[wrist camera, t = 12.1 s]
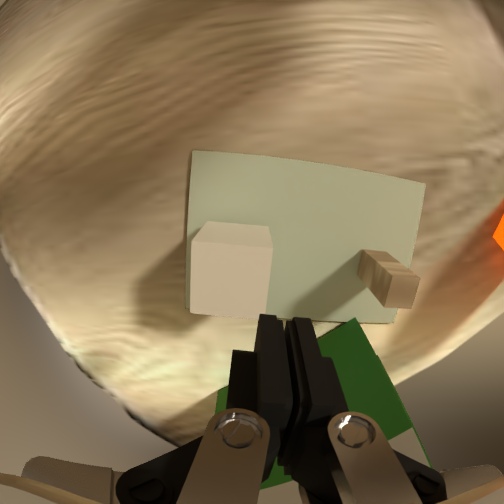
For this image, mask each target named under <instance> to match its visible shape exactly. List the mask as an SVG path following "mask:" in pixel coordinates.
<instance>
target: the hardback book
mask: <svg viewBox="0 0 504 504" xmlns="http://www.w3.org/2000/svg"><path fill="white" fill-rule="evenodd" d="M317 341H318V345H319V348H320V352H321V355H322V357H331V358H332V360H333V362H334V365H335V368H336V371H337V375H338V378H339V381H340V384H341V387H342V390H343V393H344V396H345V399H346V403H347V406H348V409H349V412H358V413H362V414H365V415H367V416H369V417H371V418H372V419H373V420H375V421H376V423H377V424H378V425H379V427H380V428H381V430H382V432H383V434H384V435H385V437H386V439H387V441H388V442H389V444H390V446H391V448H392V449H394V450H396V451H398V452H400V453H402V454H404V455H406V456H408V457H410V458H412V459H414V460H416V461H418V462H420V463H422V464H424V465H426V466H428V467H430V468H432V469H433V467H432V465H431V463H430V460H429V458H428V456H427V454H426V452H425V449H424V447H423V445H422V443H421V441H420V438H419V436H418V434H417V432H416V430H415V428H414V426H413V424H412V422H411V420H410V417H409V415H408V413H407V411H406V410H405V407H404V405H403V403H402V401H401V399H400V397H399V395H398V393H397V391H396V389H395V387H394V385H393V384H392V382H391V380H390V378H389V376H388V374H387V372H386V370H385V368H384V366H383V364H382V363H381V361H380V359H379V357H378V355H376V354H375V352H374V350H373V348H372V346H371V344H370V342H369V341H368V339H367V337H366V335H365V333H364V331H363V330H362V328H361V326H360V324H359V323H358V321H357V319H356V317H354V318H353V319H351V320H349V321H348V322H346V323H345V324H343V325H341V326H340V327H338V328H336V329H335V330H333V331H331V332H330V333H328V334H326V335H325V336H323V337H321V338H319V339H318V340H317ZM227 394H228V386H227V387H225V388H223V389H220V390H218V396H217V403H216V410H215V415H216V414H217V413H218V412H221V411H223V410H226V403H227ZM298 485H299V484H298V483H297V482H295V481H294V480H293V479H291V475H284V467H283V466H278V465H277V457H276V459H275V462H274V465H273V468H272V470H271V473H270V476H269V478H268V479H267V480H265V481H264V482H263V483H261V487H260V492H259V497H258V501H257V504H302V501H301V497H300V494H299V488H298Z"/></svg>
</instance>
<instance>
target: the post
mask: <svg viewBox="0 0 504 504" xmlns="http://www.w3.org/2000/svg"><path fill="white" fill-rule="evenodd" d="M357 276H358V277H359V278H360V279H361V280H362V281H363V283H364V284H365V285H366V286H367V287H368V289H369V290H370V291H371V292H372V294H373V295H374V296H375V297H376V298H377V300H378V301H379V302H380V303H381V305H382V306H383V307H384V308H407V309H411V308H412V305H413V302H414V299H415V295H416V292H417V288H418V285H419V281H420V277H418V276H417V275H416V274H414V273H413V272H412V271H411V270H409V269H408V268H407V267H406V266H404V265H403V264H402V263H400V262H399V261H398V260H396V259H395V258H394V257H392V256H391V255H390V254H388V253H387V252H385V251H376V250H368V249H362V253H361V258H360V262H359V267H358V272H357Z"/></svg>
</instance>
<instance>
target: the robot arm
mask: <svg viewBox="0 0 504 504" xmlns="http://www.w3.org/2000/svg"><path fill="white" fill-rule="evenodd" d="M276 457H277V465H278V466H283V467H284V475H291V479H293V480H294V481H295V482H297V483H298V484H299V485H298V488H299V494H300V497H301V501H302V504H504V475H502V474H501V472H500V471H499V470H498V469H497V468H496V467H494V466H492V465H483V466H476V467H469V468H459V469H449V470H442V471H441V473H439V472H437V471H436V470H434V469H432V468H430V467H428V466H426V465H424V464H422V463H420V462H418V461H416V460H414V459H412V458H410V457H408V456H406V455H404V454H402V453H400V452H398V451H396V450H394V449H392V448H391V446H390V444H389V442H388V441H387V439H386V437H385V435H384V434H383V432H382V430H381V428H380V427H379V425H378V424H377V423H376V421H375V420H373V419H372V418H371V417H369V416H367V415H365V414H362V413H358V412H349V409H348V406H347V403H346V399H345V396H344V393H343V390H342V387H341V384H340V381H339V378H338V375H337V371H336V368H335V365H334V362H333V360H332V358H331V357H322V355H321V352H320V348H319V345H318V341H317V338H316V335H315V331H314V328H313V325H312V321H311V319H310V318H303V317H293V319H292V321H288V320H287V322H286V325H285V330H284V327H283V321H282V320H277V316H276V315H269V314H260V315H259V320H258V327H257V334H256V340H255V347H254V352H251V351H241V350H233V352H232V361H231V369H230V377H229V386H228V394H227V403H226V410H223V411H221V412H218V413H217V414H216V415H214V416H213V417H212V418H211V420H210V421H209V423H208V425H207V428H206V430H205V433H204V435H203V436H201V437H199V438H197V439H195V440H193V441H191V442H189V443H187V444H185V445H183V446H181V447H179V448H177V449H175V450H173V451H171V452H168V453H166V454H164V455H162V456H160V457H157V458H155V459H153V460H151V461H148V462H146V463H144V464H141V465H139V466H136V467H134V468H131V469H130V470H128V471H126V472H117V471H113V470H112V468H107V467H99V466H91V465H86V464H80V463H74V462H69V461H64V460H59V459H54V458H50V457H44V456H38V457H35V458H32V459H30V460H29V461H28V462H27V463H26V464H25V466H24V468H23V471H22V475H21V477H19V476H15V475H10V474H3V473H0V504H257V501H258V497H259V492H260V487H261V483H263V482H264V481H265V480H267V479H268V478H269V476H270V473H271V470H272V468H273V465H274V462H275V459H276Z"/></svg>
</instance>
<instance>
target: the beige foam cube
mask: <svg viewBox="0 0 504 504" xmlns="http://www.w3.org/2000/svg"><path fill="white" fill-rule="evenodd" d="M272 255H273V245H272V240H271V235H270V231H269V226H259V225H248V224H237V223H226V222H214V221H207V222H206V223H205V224H204V226H203V227H202V228H201V229H200V231H199V232H198V233H197V235H196V236H195V237H194V238H193V240H192V243H191V278H190V313H195V314H204V315H213V316H223V317H234V318H245V319H257V320H259V315H260V314H265V312H266V304H267V296H268V288H269V280H270V272H271V263H272Z"/></svg>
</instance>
